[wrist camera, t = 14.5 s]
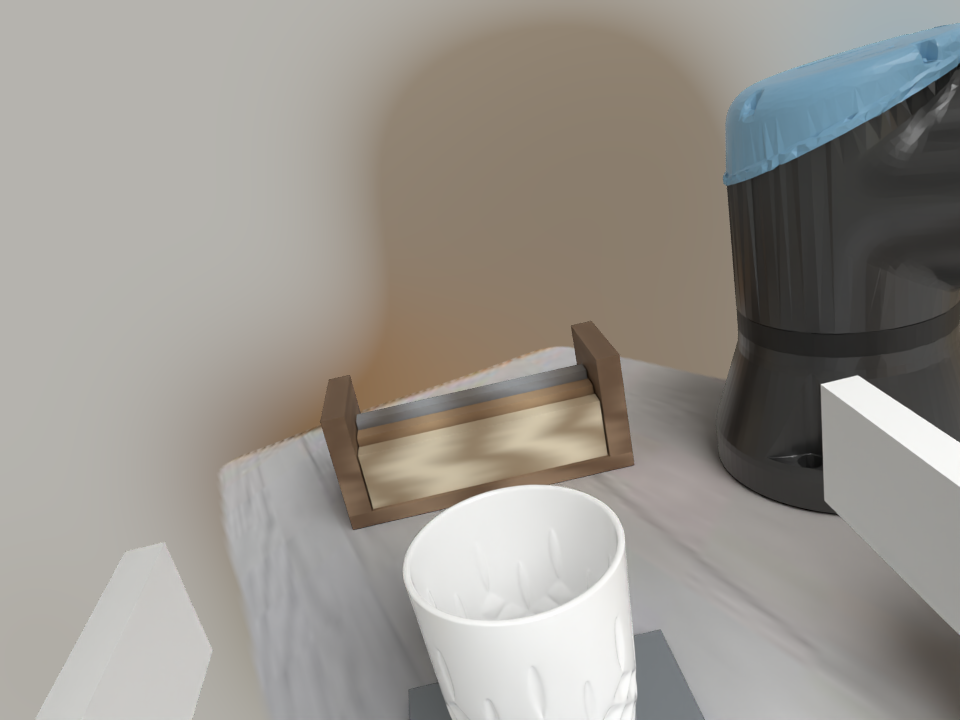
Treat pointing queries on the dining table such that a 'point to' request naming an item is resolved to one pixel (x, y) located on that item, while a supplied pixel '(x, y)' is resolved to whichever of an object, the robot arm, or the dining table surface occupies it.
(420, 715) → the slate mat
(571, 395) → the offcut rack
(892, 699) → the dining table surface
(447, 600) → the white cup
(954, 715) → the dining table surface
